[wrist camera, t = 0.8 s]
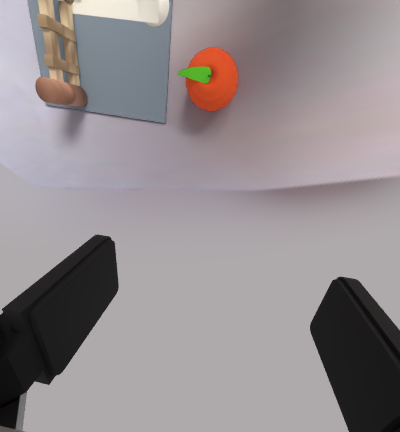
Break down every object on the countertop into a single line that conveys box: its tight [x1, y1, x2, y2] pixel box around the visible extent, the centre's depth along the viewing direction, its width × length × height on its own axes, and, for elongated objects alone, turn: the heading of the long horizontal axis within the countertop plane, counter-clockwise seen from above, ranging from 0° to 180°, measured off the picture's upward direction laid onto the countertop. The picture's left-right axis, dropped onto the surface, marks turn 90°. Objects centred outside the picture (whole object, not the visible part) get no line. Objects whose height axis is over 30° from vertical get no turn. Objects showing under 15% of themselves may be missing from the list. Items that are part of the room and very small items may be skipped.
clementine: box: [177, 48, 238, 111], centre depth 26 cm, size 8×7×7 cm
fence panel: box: [36, 0, 87, 107], centre depth 27 cm, size 12×3×6 cm, turn 172°
